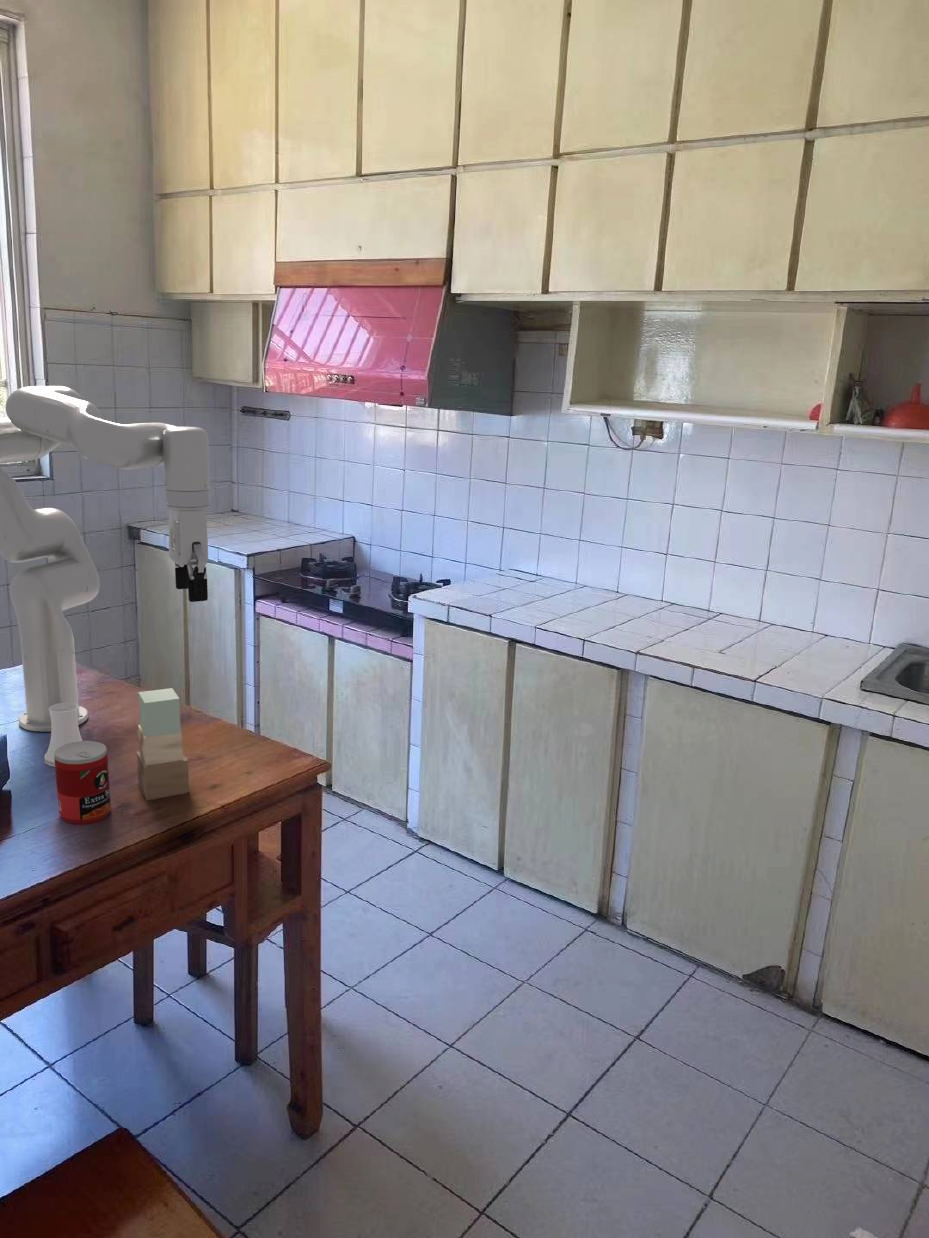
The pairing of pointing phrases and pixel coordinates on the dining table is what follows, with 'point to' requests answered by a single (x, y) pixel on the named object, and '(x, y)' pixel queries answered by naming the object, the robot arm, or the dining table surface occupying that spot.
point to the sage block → (159, 712)
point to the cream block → (163, 778)
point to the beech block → (160, 748)
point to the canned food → (82, 781)
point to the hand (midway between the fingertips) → (191, 594)
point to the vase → (62, 728)
